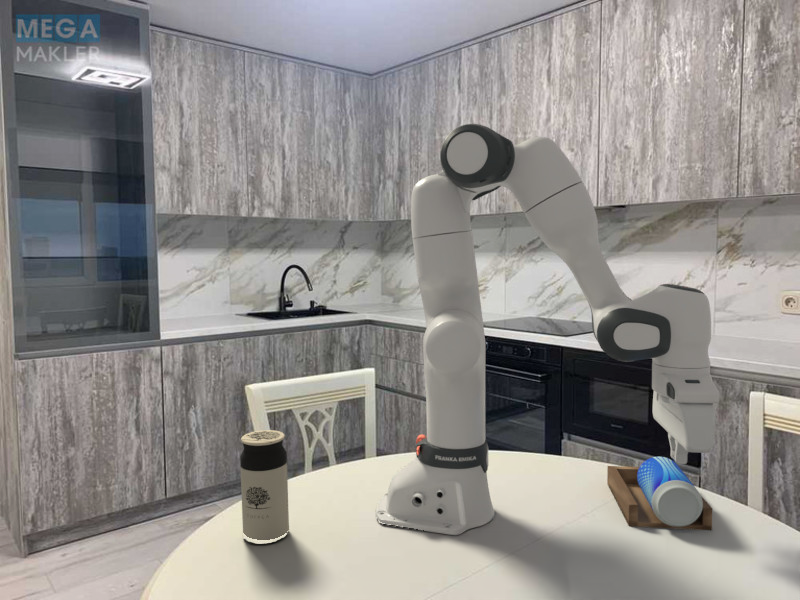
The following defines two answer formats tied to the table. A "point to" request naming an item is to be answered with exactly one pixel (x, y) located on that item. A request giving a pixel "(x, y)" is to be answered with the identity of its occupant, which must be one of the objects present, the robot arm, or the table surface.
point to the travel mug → (264, 485)
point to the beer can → (669, 492)
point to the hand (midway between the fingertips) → (678, 461)
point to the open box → (644, 501)
